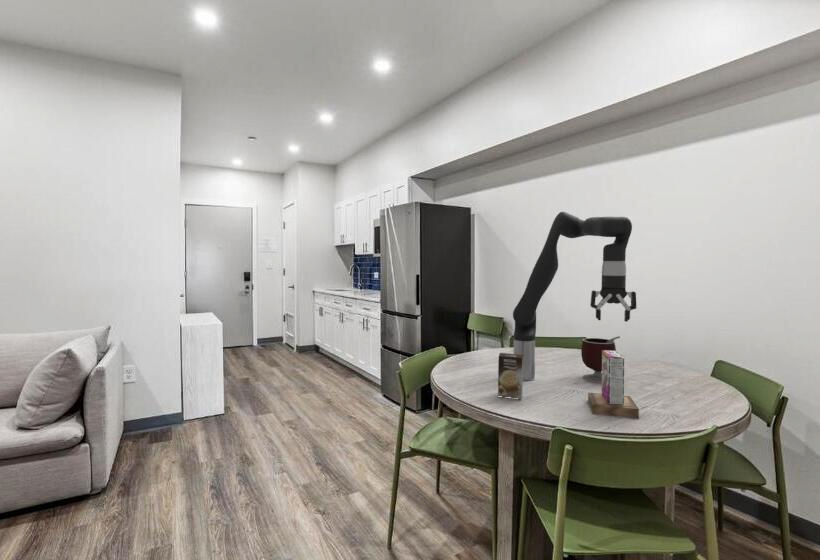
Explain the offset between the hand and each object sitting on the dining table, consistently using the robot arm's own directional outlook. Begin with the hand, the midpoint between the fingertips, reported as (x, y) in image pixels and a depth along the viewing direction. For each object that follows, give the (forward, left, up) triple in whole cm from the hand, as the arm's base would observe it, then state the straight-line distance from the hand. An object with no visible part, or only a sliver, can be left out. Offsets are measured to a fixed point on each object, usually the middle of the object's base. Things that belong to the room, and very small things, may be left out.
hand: (612, 320), depth 144 cm
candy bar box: (0, 0, -28) cm, 28 cm away
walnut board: (0, 0, -31) cm, 31 cm away
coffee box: (-35, +3, -31) cm, 47 cm away
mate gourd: (+1, +39, -31) cm, 50 cm away
